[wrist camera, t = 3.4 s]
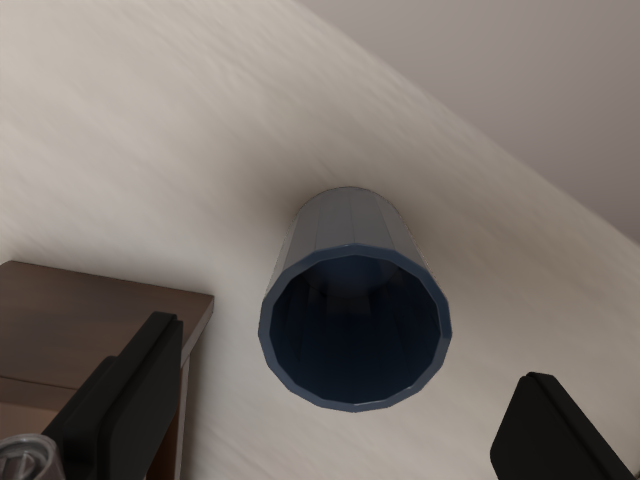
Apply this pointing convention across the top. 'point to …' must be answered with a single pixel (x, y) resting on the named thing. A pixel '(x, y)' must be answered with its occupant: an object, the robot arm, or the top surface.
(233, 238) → the top surface
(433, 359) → the pen cup
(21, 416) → the wooden jewelry box
